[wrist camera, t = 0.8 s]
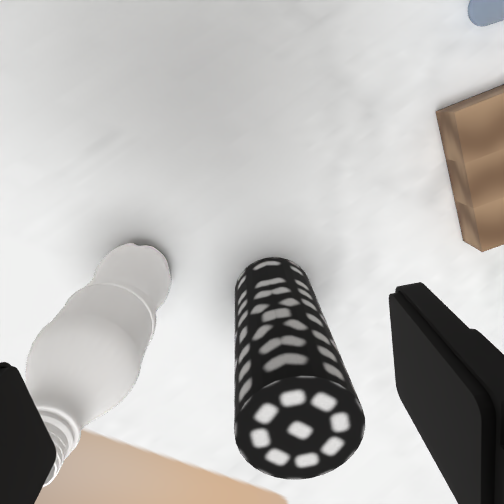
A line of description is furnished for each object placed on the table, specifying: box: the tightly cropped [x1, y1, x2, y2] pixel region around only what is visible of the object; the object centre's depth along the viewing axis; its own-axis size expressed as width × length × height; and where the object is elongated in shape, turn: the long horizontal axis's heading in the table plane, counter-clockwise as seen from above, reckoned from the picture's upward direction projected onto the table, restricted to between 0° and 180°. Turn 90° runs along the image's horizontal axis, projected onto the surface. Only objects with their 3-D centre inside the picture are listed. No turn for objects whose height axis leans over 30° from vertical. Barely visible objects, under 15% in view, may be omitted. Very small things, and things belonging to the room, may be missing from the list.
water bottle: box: [26, 243, 171, 487], centre depth 31 cm, size 7×7×25 cm
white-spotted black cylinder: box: [234, 258, 365, 479], centre depth 35 cm, size 8×8×20 cm
